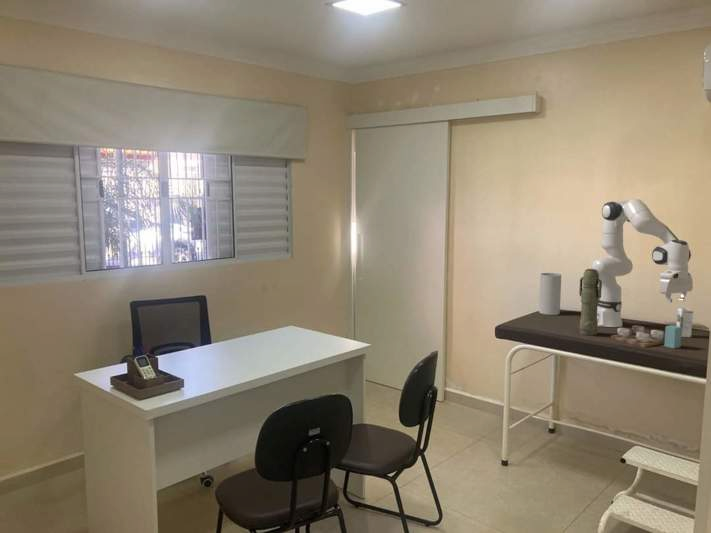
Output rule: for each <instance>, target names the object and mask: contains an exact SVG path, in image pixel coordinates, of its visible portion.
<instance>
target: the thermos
mask: <svg viewBox="0 0 711 533" xmlns="http://www.w3.org/2000/svg"><path fill="white" fill-rule="evenodd" d="M601 290H602V281H601V280H600V279H599V274H598V271H597V270H596V269H591V268H587V269H585V270H584V272H583V276H582V277H581V278H580V279H579V297H580V302H581V312H580V314H581V315H580V320H579V334H580V335H583V336H586V337H587V336H590V337H592V336H593V337H594V336H598V329H599V328H598V327H599V326H598V322H597V307H598V302H599V300H600V298H601Z"/></svg>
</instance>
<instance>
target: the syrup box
mask: <svg viewBox="0 0 711 533" xmlns="http://www.w3.org/2000/svg"><path fill="white" fill-rule="evenodd" d="M676 314H677V315H676V316H677V317H676V324H675V326H678V327H682V333H681V338H692V330H693V319H694V318H693V317H694V316H693V315H694V310H692V309H690V308H685V307H679V308H677V313H676Z"/></svg>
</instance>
